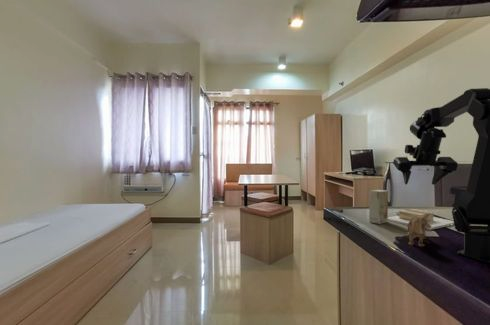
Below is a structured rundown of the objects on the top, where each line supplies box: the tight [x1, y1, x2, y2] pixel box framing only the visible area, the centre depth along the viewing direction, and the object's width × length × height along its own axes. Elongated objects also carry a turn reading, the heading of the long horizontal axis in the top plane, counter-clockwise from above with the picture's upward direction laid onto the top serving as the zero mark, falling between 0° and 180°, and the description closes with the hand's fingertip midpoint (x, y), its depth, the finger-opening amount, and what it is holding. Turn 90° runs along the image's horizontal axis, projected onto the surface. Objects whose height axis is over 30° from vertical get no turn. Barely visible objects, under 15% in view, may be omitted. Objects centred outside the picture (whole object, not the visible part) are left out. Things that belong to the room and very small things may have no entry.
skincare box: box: [368, 189, 389, 225], centre depth 100 cm, size 6×4×12 cm
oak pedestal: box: [398, 208, 434, 222], centre depth 101 cm, size 8×8×3 cm
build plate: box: [388, 215, 454, 231], centre depth 100 cm, size 18×16×1 cm
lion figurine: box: [407, 216, 431, 247], centre depth 78 cm, size 15×5×9 cm, turn 151°
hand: (419, 184), depth 97 cm, fingers open, 9 cm apart
